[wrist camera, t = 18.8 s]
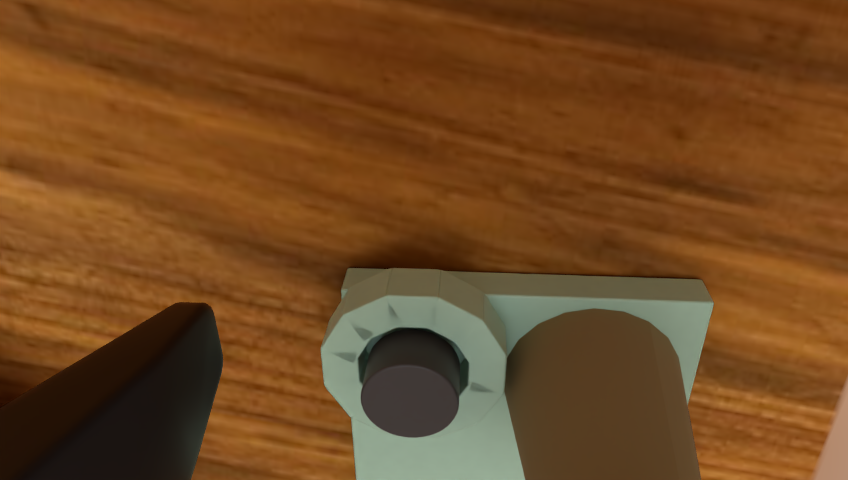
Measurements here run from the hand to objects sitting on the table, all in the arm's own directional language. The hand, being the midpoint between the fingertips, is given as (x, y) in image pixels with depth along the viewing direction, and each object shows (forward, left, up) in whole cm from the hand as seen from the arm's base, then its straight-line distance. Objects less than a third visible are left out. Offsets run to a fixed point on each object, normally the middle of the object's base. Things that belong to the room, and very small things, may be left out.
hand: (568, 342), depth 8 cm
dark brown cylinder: (+3, +9, -10) cm, 14 cm away
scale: (-1, +13, -13) cm, 19 cm away
